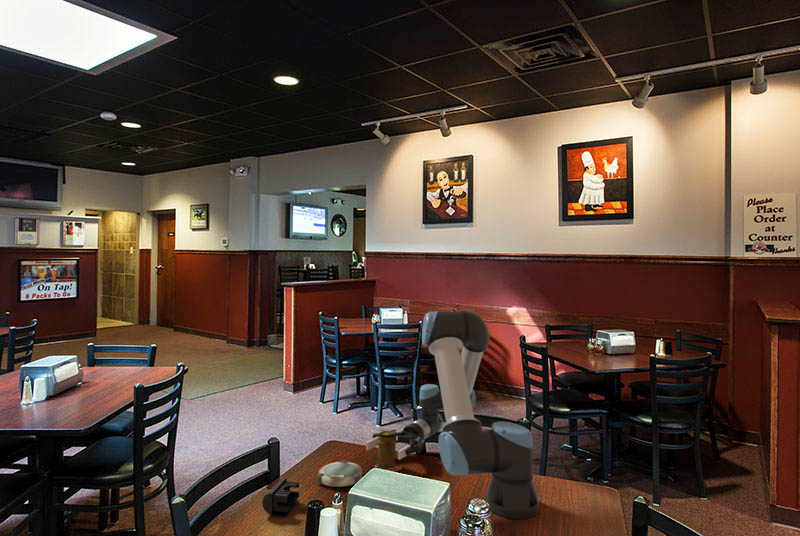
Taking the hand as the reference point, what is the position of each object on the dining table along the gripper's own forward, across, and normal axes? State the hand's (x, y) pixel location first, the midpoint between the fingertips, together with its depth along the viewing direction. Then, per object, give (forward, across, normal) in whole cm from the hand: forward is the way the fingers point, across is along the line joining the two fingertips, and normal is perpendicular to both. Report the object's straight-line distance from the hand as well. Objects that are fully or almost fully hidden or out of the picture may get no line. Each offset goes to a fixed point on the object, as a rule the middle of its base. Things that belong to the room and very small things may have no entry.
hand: (382, 450), depth 159 cm
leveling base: (+12, +8, -7) cm, 16 cm away
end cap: (+36, +10, -7) cm, 38 cm away
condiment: (-3, 0, -7) cm, 8 cm away
